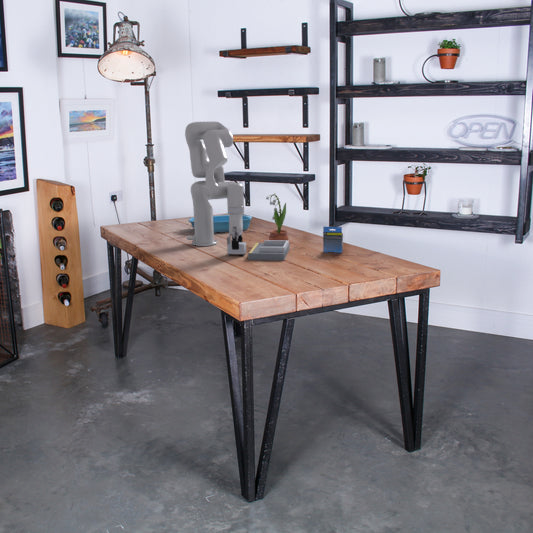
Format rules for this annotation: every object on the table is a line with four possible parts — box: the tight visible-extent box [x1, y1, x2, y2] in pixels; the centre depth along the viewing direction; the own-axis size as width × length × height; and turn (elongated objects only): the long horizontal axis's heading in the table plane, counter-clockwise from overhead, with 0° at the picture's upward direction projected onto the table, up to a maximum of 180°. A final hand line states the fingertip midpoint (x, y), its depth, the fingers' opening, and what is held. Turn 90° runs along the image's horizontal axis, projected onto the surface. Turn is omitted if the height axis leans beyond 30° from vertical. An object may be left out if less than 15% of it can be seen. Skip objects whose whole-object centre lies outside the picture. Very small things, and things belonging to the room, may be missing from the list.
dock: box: [247, 239, 290, 261], centre depth 296 cm, size 16×24×5 cm, turn 172°
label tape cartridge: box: [322, 226, 344, 254], centre depth 298 cm, size 9×4×12 cm, turn 74°
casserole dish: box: [187, 214, 253, 234], centre depth 361 cm, size 37×22×7 cm, turn 113°
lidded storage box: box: [226, 235, 247, 257], centre depth 296 cm, size 8×5×8 cm, turn 82°
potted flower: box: [265, 193, 289, 241], centre depth 321 cm, size 12×10×25 cm
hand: (237, 247), depth 296 cm, fingers open, 9 cm apart
